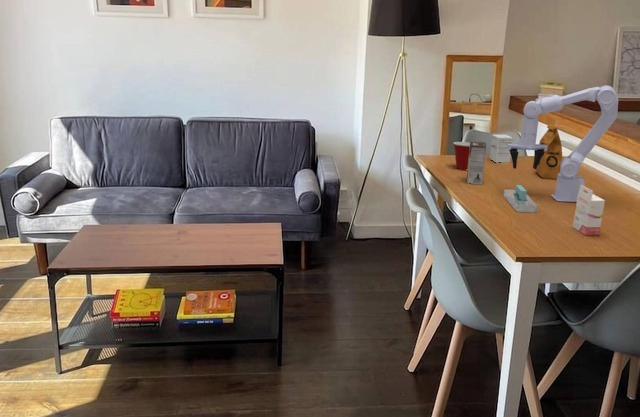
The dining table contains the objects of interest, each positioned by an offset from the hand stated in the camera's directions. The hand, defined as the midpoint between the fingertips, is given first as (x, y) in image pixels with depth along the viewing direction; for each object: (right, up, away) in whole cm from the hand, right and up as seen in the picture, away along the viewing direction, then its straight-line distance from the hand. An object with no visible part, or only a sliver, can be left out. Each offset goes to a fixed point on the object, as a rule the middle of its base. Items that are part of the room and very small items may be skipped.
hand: (524, 168), depth 227 cm
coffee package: (+21, -1, +31) cm, 37 cm away
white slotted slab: (-5, -14, -9) cm, 17 cm away
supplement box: (+7, +7, +55) cm, 56 cm away
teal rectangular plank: (-5, -14, -9) cm, 17 cm away
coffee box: (-14, -4, +20) cm, 25 cm away
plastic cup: (-14, +2, +41) cm, 43 cm away
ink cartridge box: (+7, -23, -36) cm, 44 cm away
